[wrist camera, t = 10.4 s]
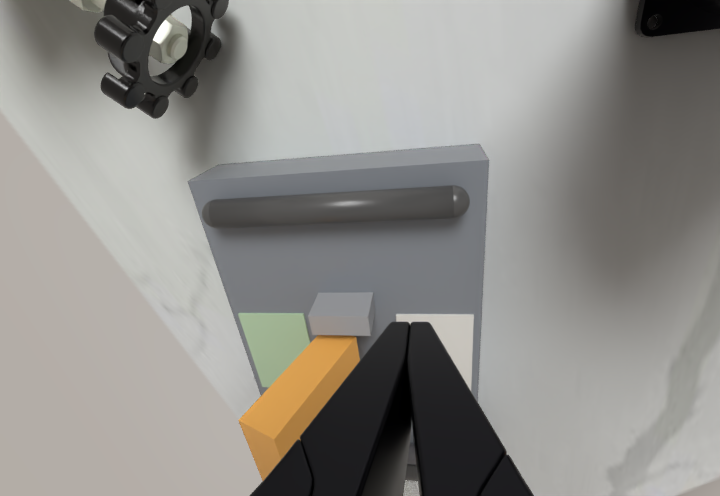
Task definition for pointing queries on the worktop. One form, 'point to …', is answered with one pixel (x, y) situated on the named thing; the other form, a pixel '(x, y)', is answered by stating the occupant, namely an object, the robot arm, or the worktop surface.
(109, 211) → the worktop surface
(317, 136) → the worktop surface
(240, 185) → the panel
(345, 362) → the lever
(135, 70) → the valve
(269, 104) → the worktop surface
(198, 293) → the worktop surface
